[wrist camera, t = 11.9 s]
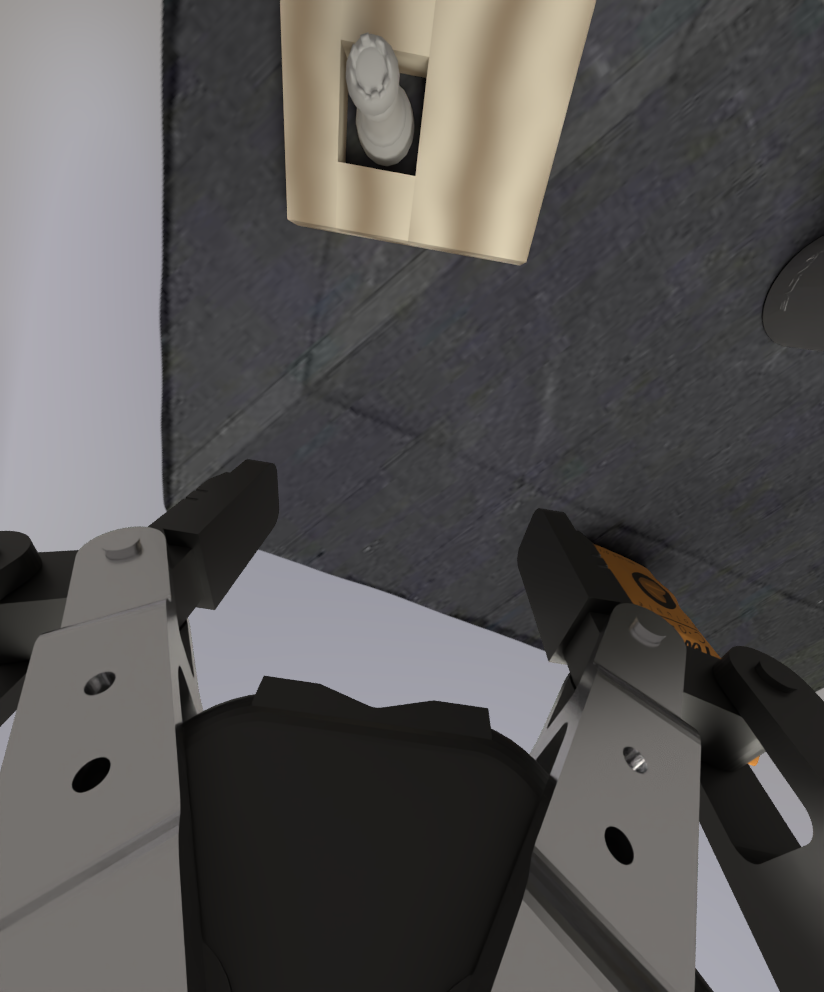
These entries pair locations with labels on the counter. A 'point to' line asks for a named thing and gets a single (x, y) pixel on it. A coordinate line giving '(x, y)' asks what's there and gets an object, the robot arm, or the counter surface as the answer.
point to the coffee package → (655, 600)
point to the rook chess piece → (379, 100)
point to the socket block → (434, 118)
